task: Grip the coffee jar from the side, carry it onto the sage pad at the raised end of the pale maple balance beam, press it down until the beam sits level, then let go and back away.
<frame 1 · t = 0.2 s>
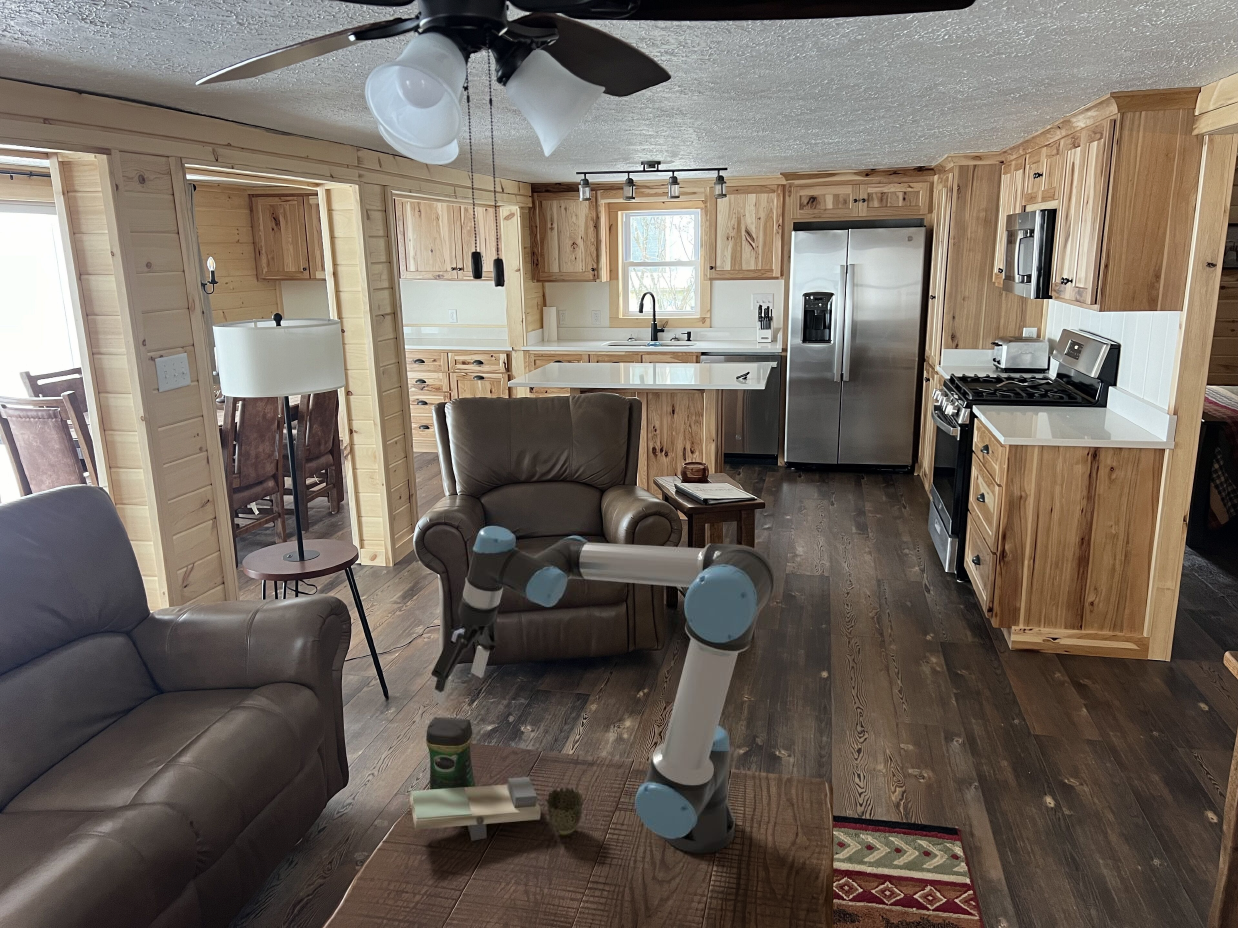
hand: (458, 687, 179), 27 cm above the table, tool tilted 15°, fingers open, 13 cm apart
beam stand: (476, 828, 177), on the table
beam: (475, 799, 175), point 7 cm above the table, hinge at 8.0°
coffee jar: (452, 798, 187), on the table
cup: (565, 832, 176), on the table
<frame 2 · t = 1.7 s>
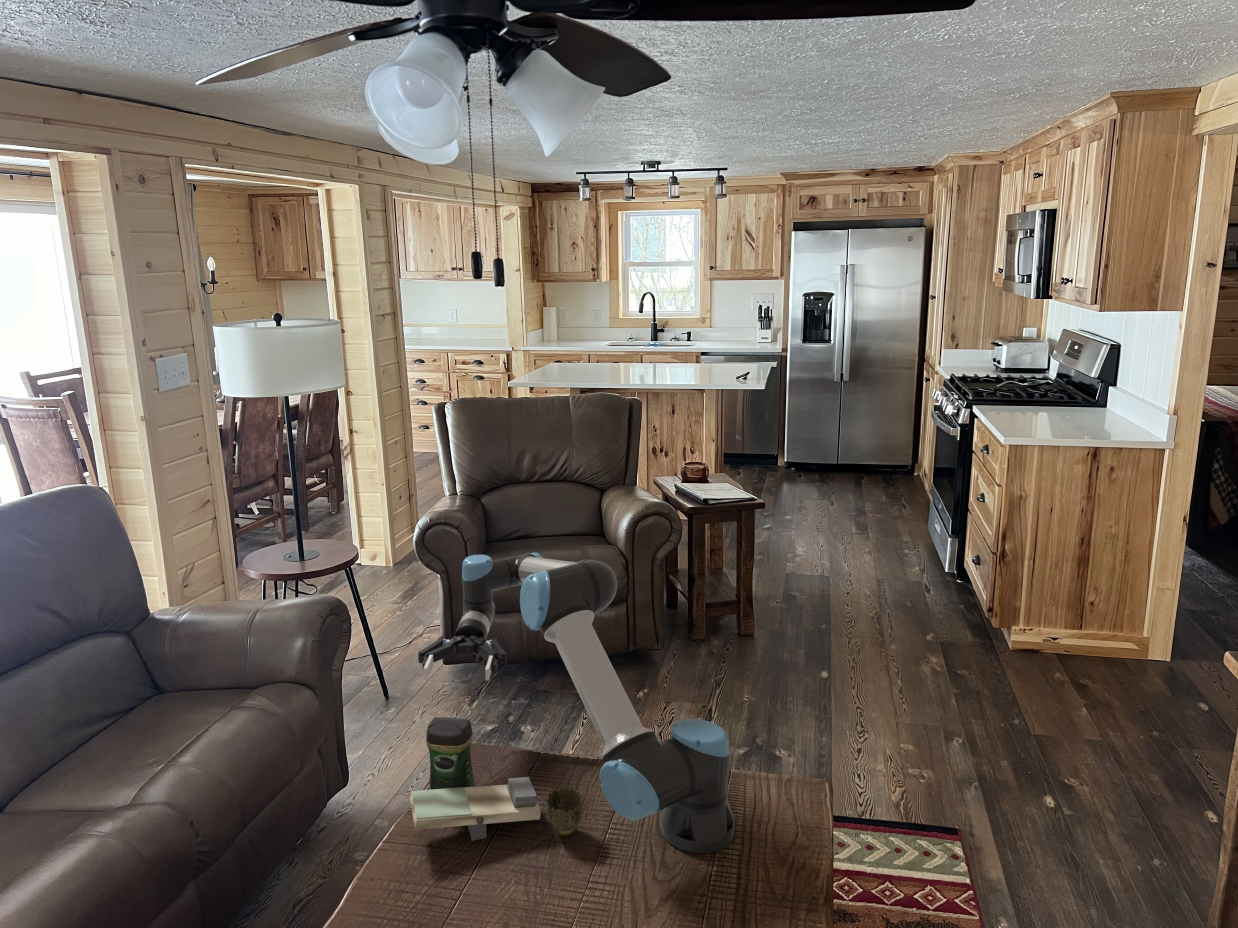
hand: (456, 674, 190), 25 cm above the table, tool horizontal, fingers open, 13 cm apart
nothing on the table moved.
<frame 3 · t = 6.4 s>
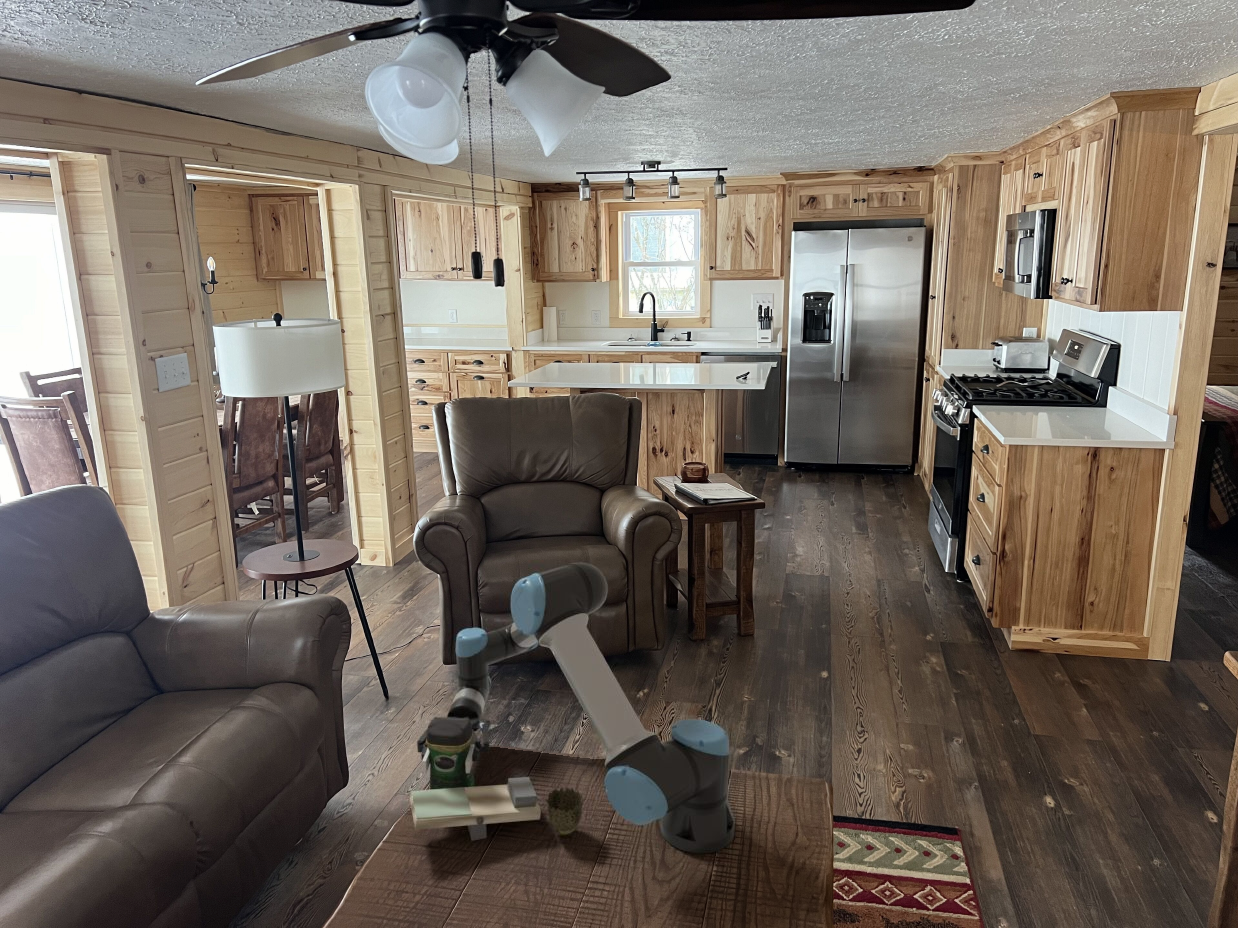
hand: (445, 766, 180), 11 cm above the table, tool horizontal, fingers closed on coffee jar, 8 cm apart
coffee jar: (452, 798, 187), on the table, touching gripper
everything else where it was.
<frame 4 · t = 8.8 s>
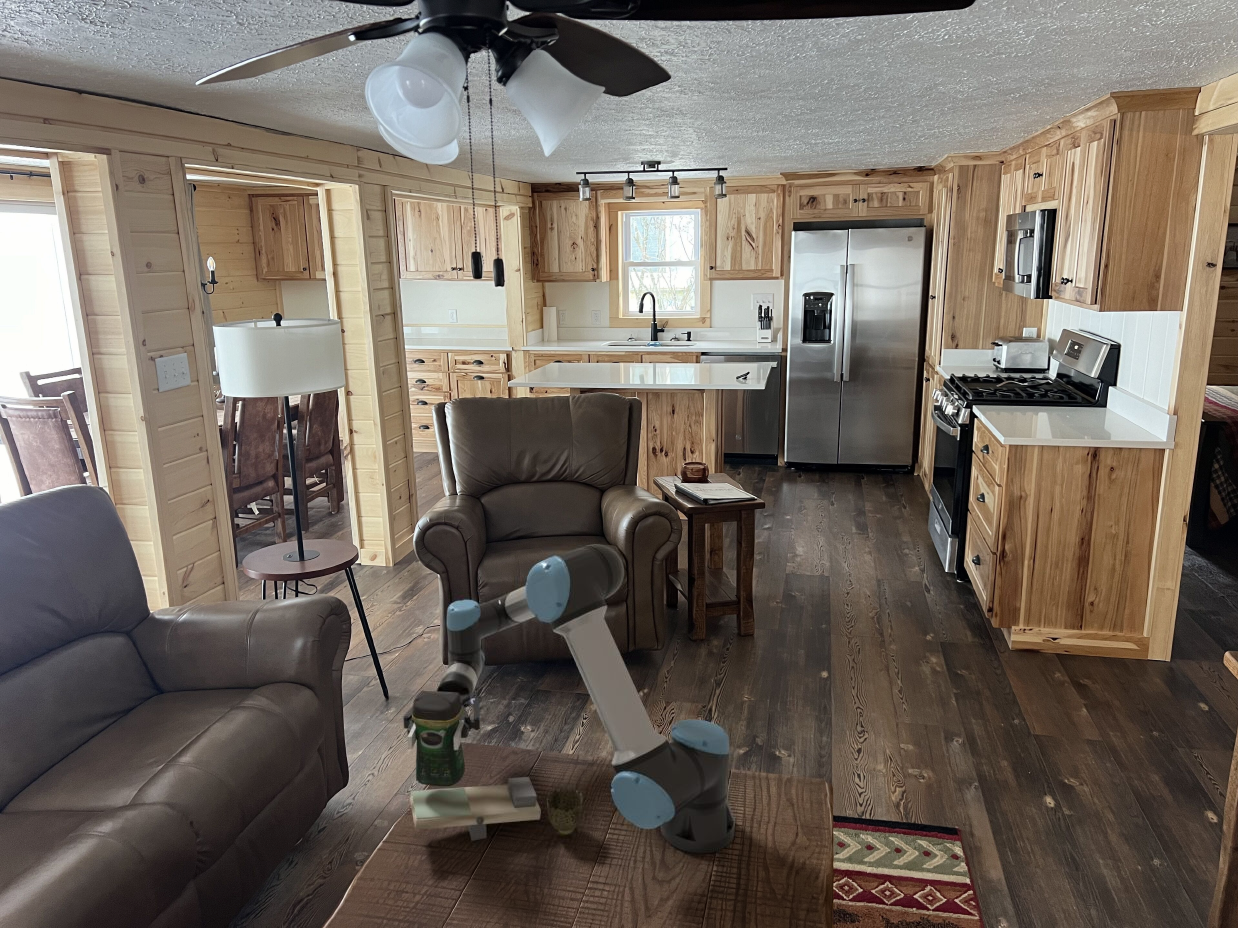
hand: (432, 743, 169), 21 cm above the table, tool horizontal, fingers closed on coffee jar, 8 cm apart
coffee jar: (440, 777, 176), point 11 cm above the table, touching gripper
everything else where it was.
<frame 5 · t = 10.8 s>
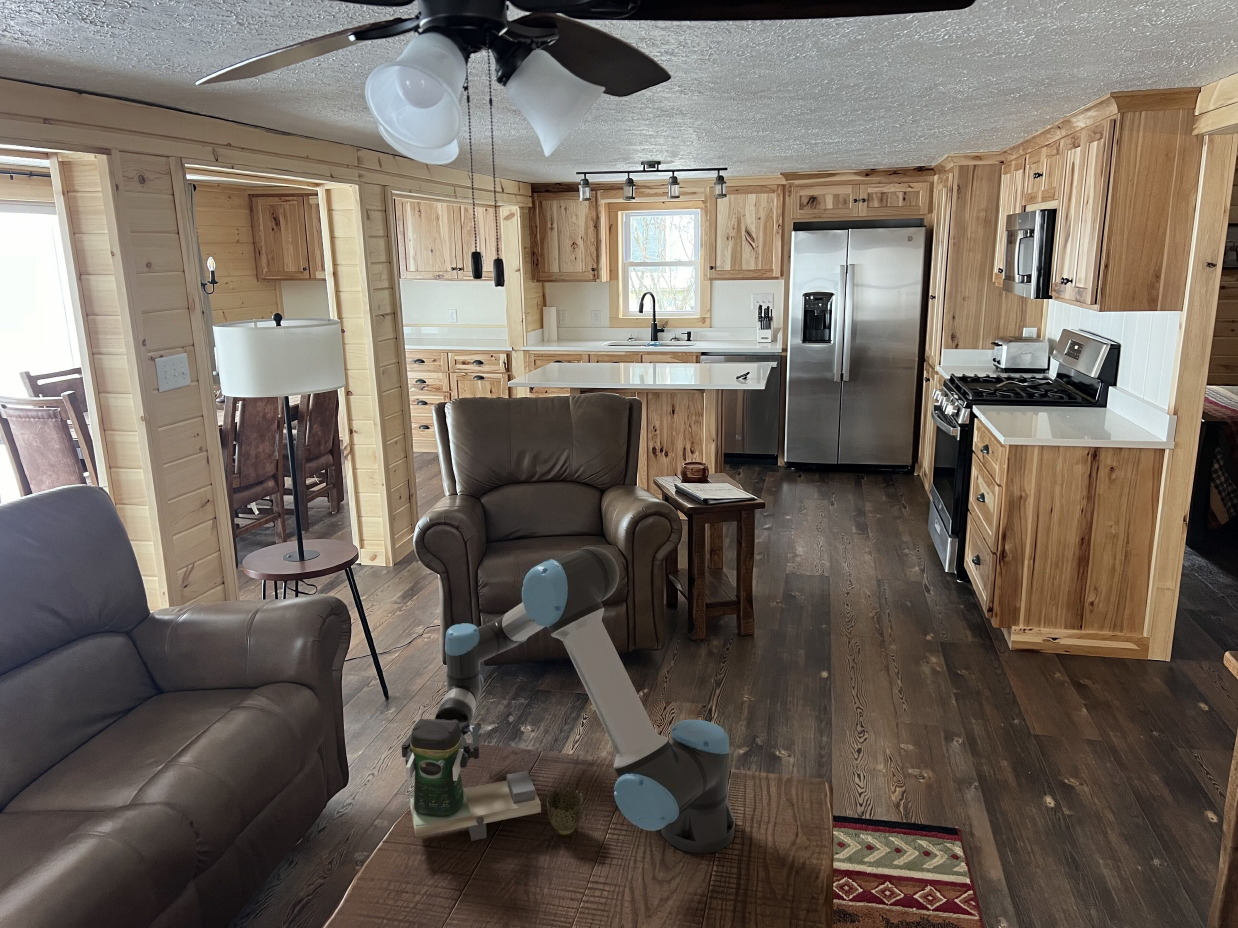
hand: (431, 773, 166), 17 cm above the table, tool horizontal, fingers closed on coffee jar, 8 cm apart
beam: (475, 799, 175), point 7 cm above the table, hinge at 0.6°, touching coffee jar
coffee jar: (438, 807, 173), point 7 cm above the table, touching beam, gripper
everything else where it was.
when the fingers open (17 cm above the table, at t = 11.7 s): coffee jar stays where it is, resting on beam.
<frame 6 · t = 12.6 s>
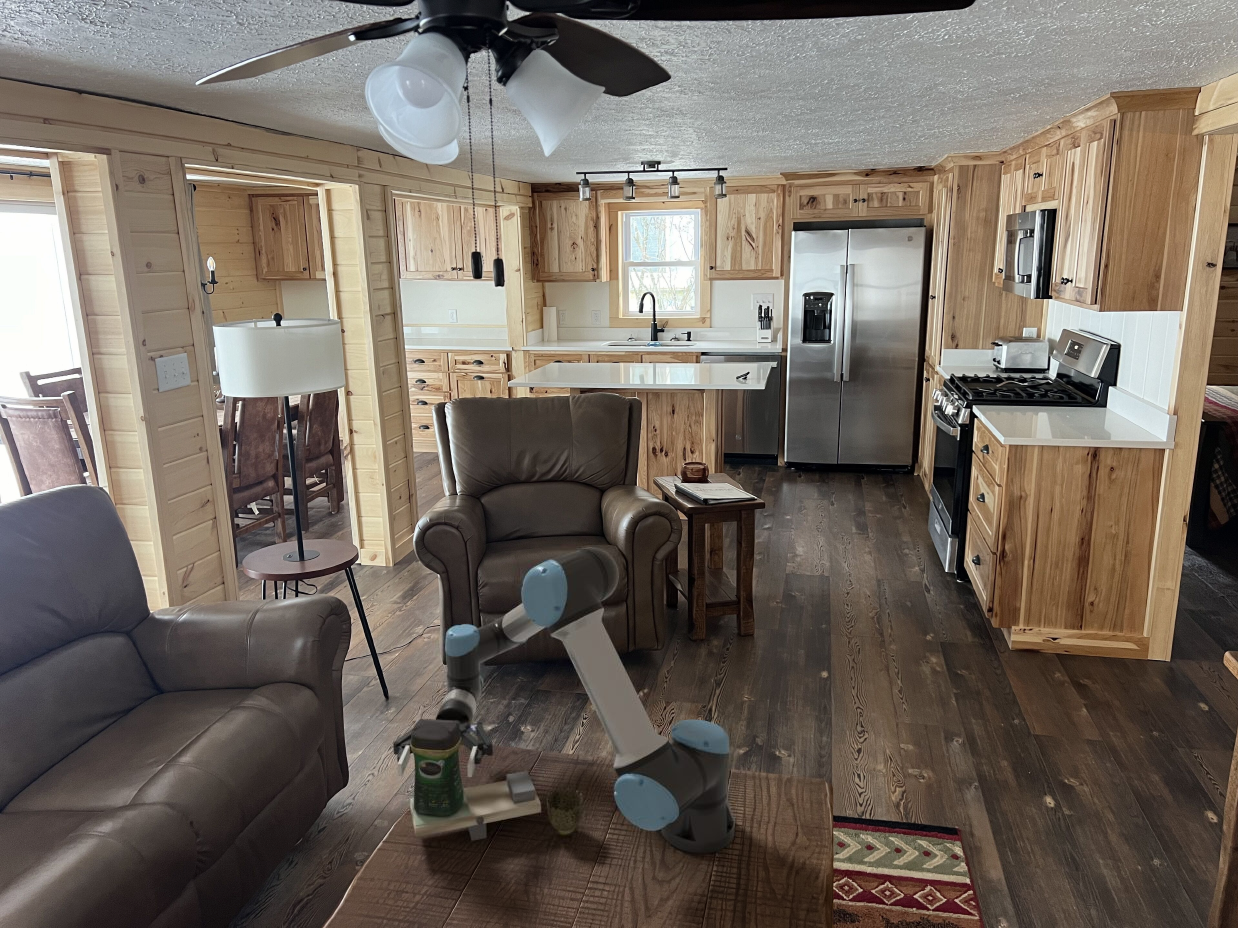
hand: (434, 770, 168), 17 cm above the table, tool horizontal, fingers open, 13 cm apart
coffee jar: (438, 807, 173), point 7 cm above the table, touching beam
everything else where it was.
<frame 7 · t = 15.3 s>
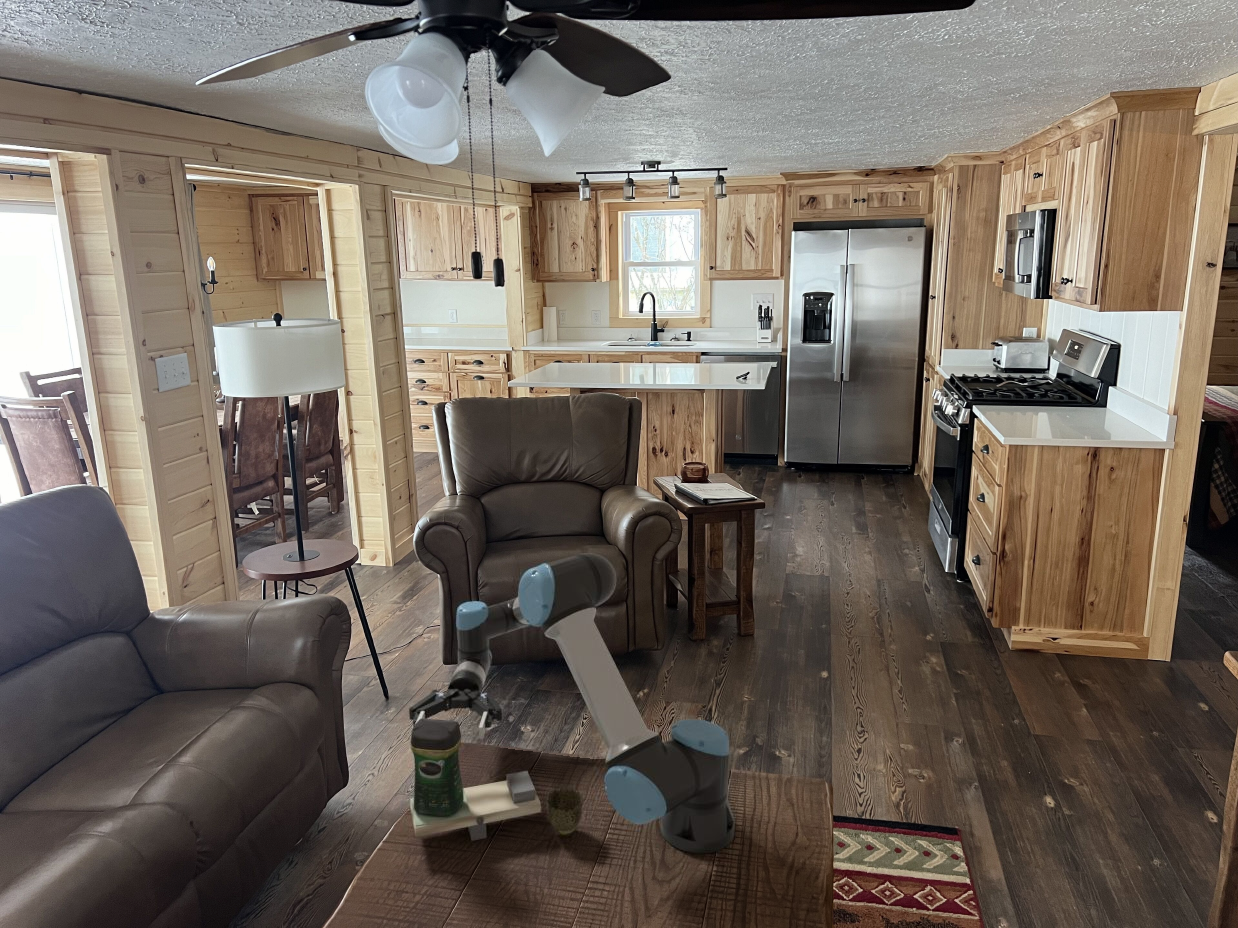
hand: (448, 732, 180), 17 cm above the table, tool horizontal, fingers open, 13 cm apart
nothing on the table moved.
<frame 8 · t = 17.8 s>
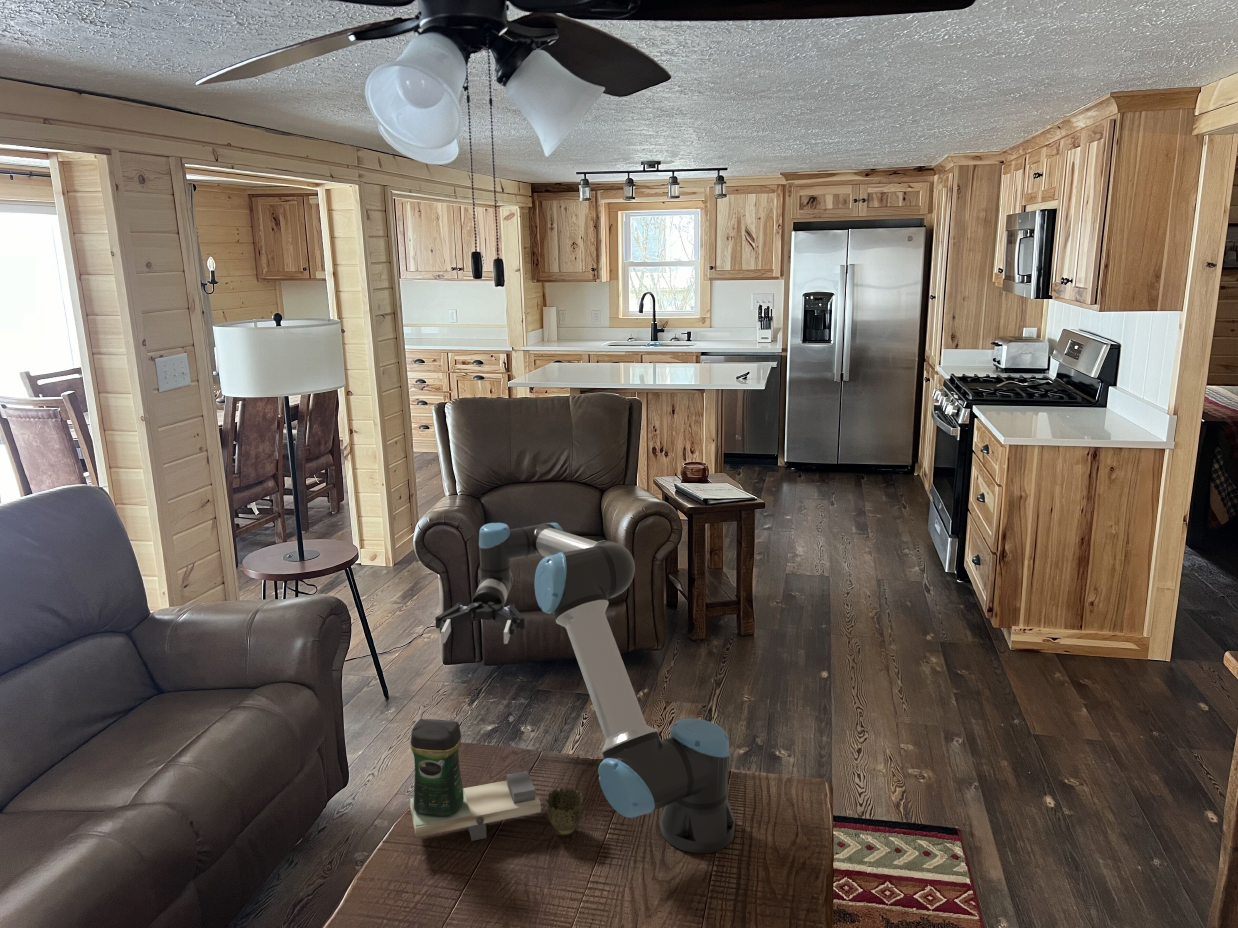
hand: (474, 637, 187), 34 cm above the table, tool horizontal, fingers open, 13 cm apart
nothing on the table moved.
at the end: beam at +0° (first picture: +8°); coffee jar inside the target area on the beam (0.3 cm from its centre), point 1.1 cm above the beam's base; coffee jar tilted 1° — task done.
